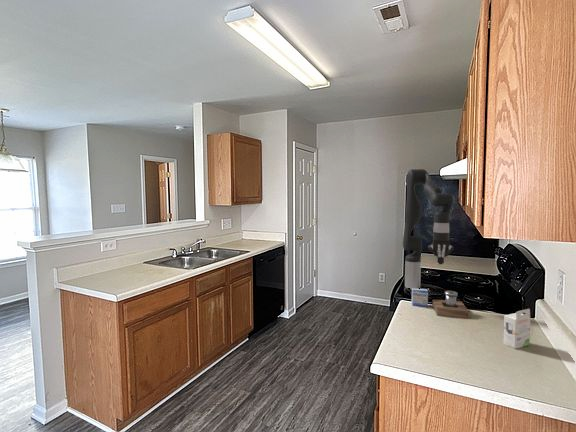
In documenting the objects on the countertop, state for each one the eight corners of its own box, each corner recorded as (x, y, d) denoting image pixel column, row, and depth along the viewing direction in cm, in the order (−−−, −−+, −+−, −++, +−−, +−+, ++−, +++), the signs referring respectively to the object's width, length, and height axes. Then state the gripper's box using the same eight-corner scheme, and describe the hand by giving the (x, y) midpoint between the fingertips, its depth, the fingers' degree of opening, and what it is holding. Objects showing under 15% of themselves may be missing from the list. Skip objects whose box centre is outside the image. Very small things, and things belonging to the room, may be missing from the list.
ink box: (517, 340, 131) (518, 304, 130) (530, 345, 126) (531, 308, 125) (502, 343, 127) (503, 307, 126) (515, 349, 123) (516, 311, 122)
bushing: (443, 309, 166) (443, 290, 165) (455, 310, 164) (456, 291, 164) (445, 313, 160) (445, 293, 160) (458, 314, 159) (458, 294, 158)
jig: (432, 305, 171) (432, 299, 171) (461, 308, 167) (461, 301, 167) (437, 315, 158) (437, 308, 157) (468, 318, 154) (468, 310, 154)
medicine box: (412, 305, 172) (412, 289, 171) (411, 303, 176) (411, 287, 176) (427, 307, 170) (428, 291, 169) (426, 304, 174) (427, 288, 173)
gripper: (453, 230, 169) (452, 263, 170) (426, 230, 172) (425, 262, 174) (456, 232, 162) (456, 266, 163) (428, 231, 165) (428, 265, 166)
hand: (440, 264), depth 168 cm, fingers closed
